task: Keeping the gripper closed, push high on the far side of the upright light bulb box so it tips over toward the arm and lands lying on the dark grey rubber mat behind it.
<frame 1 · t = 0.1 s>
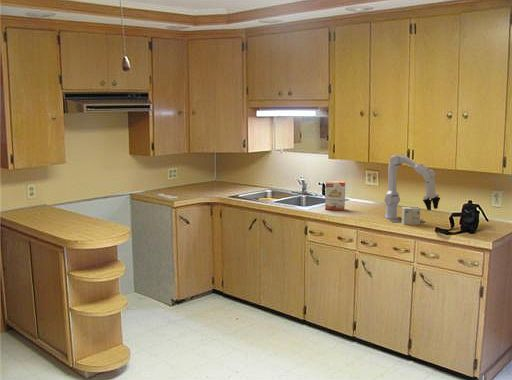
hand: (432, 209, 354), 11 cm above the countertop, tool pointing down, fingers open, 7 cm apart
cracker box: (334, 209, 410), on the countertop
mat: (407, 221, 369), on the countertop
light bulb box: (410, 224, 361), on the countertop
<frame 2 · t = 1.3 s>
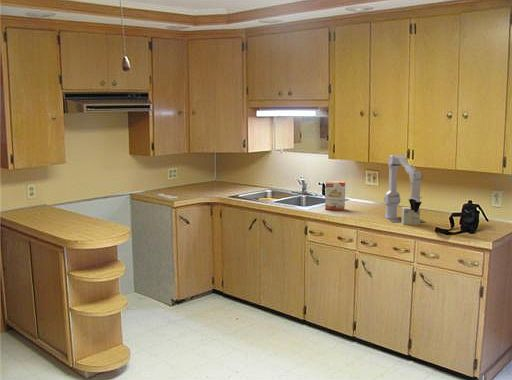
hand: (414, 211, 352), 10 cm above the countertop, tool pointing down, fingers open, 6 cm apart
nothing on the countertop moved.
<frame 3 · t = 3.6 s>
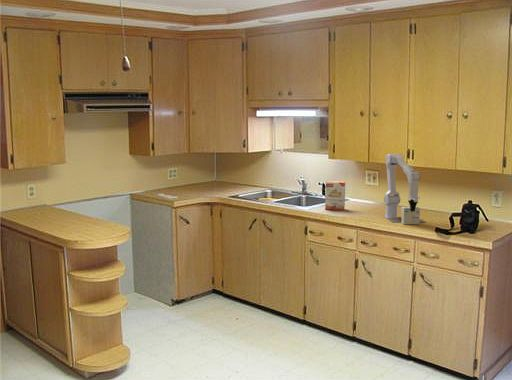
hand: (412, 211, 356), 9 cm above the countertop, tool pointing down, fingers closed
light bulb box: (410, 223, 361), on the countertop, touching gripper
everything else where it was.
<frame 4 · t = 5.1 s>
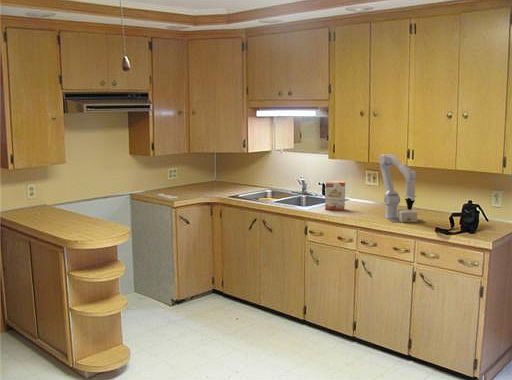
hand: (409, 209, 363), 9 cm above the countertop, tool pointing down, fingers closed
light bulb box: (409, 217, 363), point 4 cm above the countertop, touching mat
everything else where it was.
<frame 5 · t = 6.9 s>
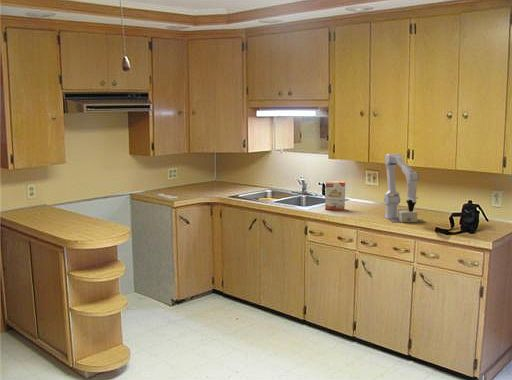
hand: (410, 211, 357), 9 cm above the countertop, tool pointing down, fingers closed
nothing on the countertop moved.
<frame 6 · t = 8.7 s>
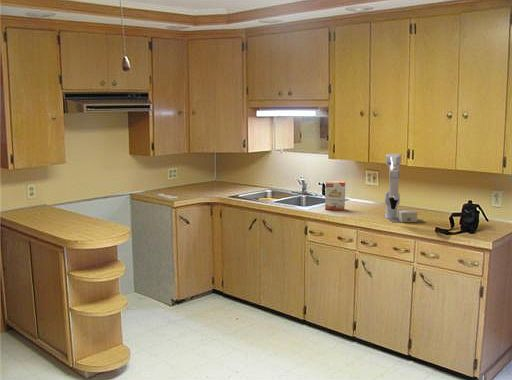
hand: (393, 209, 359), 10 cm above the countertop, tool pointing down, fingers closed
nothing on the countertop moved.
at the end: light bulb box tilted 91°; light bulb box inside the target area (6.6 cm from its centre), point 3.9 cm above the countertop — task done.
